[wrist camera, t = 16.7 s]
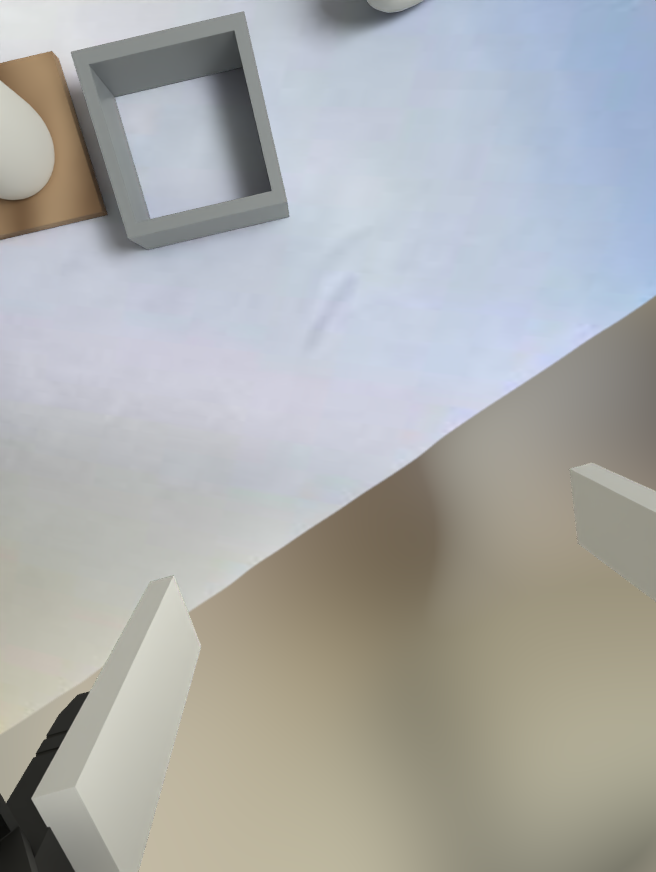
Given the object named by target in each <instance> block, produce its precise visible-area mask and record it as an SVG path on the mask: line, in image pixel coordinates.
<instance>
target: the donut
mask: <svg viewBox="0 0 656 872" xmlns="http://www.w3.org/2000/svg"><path fill="white" fill-rule="evenodd" d="M422 1H423V0H367V2H368V3H369V5H370V6H372V7H373V8H374V9H377V10H380V11H383V12H387V13H392V12H399V11H403V10H405V9H408V8H410V7H412V6H415V5H417V4H419V3H420V2H422Z"/></svg>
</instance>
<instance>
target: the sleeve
mask: <svg viewBox="0 0 656 872" xmlns="http://www.w3.org/2000/svg"><path fill="white" fill-rule="evenodd" d="M71 55H72V58H73V61H74V65H75V68H76V71H77V74H78V78H79V81H80V84H81V87H82V91H83V94H84V97H85V100H86V104H87V107H88V110H89V113H90V117H91V120H92V123H93V126H94V130H95V133H96V136H97V139H98V143H99V146H100V149H101V152H102V156H103V159H104V162H105V165H106V169H107V172H108V175H109V178H110V182H111V185H112V188H113V191H114V195H115V198H116V201H117V204H118V208H119V211H120V214H121V218H122V221H123V224H124V227H125V231H126V234H127V237H128V239H129V240H131V241H133V242H135V243H136V244H138V245H140V246H142V247H144V248H145V249H147V250H149V249H154V248H158V247H162V246H166V245H171V244H175V243H179V242H184V241H188V240H192V239H196V238H201V237H205V236H209V235H213V234H218V233H222V232H226V231H231V230H235V229H239V228H243V227H248V226H252V225H256V224H260V223H265V222H269V221H273V220H278V219H282V218H286V217H289V211H288V203H287V198H286V194H285V189H284V185H283V181H282V176H281V172H280V167H279V163H278V159H277V154H276V150H275V145H274V141H273V137H272V132H271V128H270V123H269V119H268V115H267V110H266V106H265V101H264V97H263V93H262V88H261V84H260V79H259V75H258V71H257V66H256V62H255V57H254V53H253V49H252V44H251V40H250V35H249V31H248V27H247V22H246V18H245V13H244V11H243V12H239V13H235V14H230V15H226V16H222V17H218V18H213V19H209V20H205V21H201V22H196V23H192V24H188V25H183V26H179V27H175V28H171V29H166V30H162V31H158V32H154V33H149V34H145V35H141V36H136V37H132V38H128V39H124V40H119V41H115V42H111V43H107V44H102V45H98V46H94V47H90V48H85V49H81V50H77V51H72V52H71ZM241 67H243V70H244V74H245V78H246V83H247V87H248V91H249V95H250V100H251V104H252V108H253V113H254V117H255V121H256V125H257V130H258V134H259V138H260V143H261V147H262V151H263V155H264V160H265V164H266V168H267V173H268V177H269V181H270V185H271V190H272V191H269V192H265V193H261V194H256V195H252V196H248V197H244V198H239V199H235V200H231V201H226V202H222V203H218V204H214V205H209V206H205V207H201V208H196V209H192V210H188V211H184V212H179V213H175V214H171V215H167V216H162V217H158V218H154V219H150V216H149V213H148V209H147V206H146V202H145V199H144V196H143V192H142V189H141V185H140V182H139V179H138V175H137V172H136V168H135V165H134V162H133V158H132V155H131V151H130V148H129V145H128V141H127V138H126V134H125V131H124V128H123V124H122V121H121V117H120V114H119V111H118V107H117V104H116V100H115V97H117V96H121V95H126V94H130V93H134V92H138V91H143V90H147V89H151V88H156V87H160V86H164V85H168V84H173V83H177V82H181V81H185V80H190V79H194V78H198V77H203V76H207V75H211V74H215V73H220V72H224V71H228V70H232V69H237V68H241Z"/></svg>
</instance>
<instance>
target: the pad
mask: <svg viewBox="0 0 656 872" xmlns="http://www.w3.org/2000/svg"><path fill="white" fill-rule="evenodd" d="M0 81H2V82H3V83H4V84H5V85H6V86H8V87H9V88H10V89H11V90H13V91H14V92H15V93H16V94H17V95H19V96H20V97H21V98H22V99H23V100H25V101H26V102H27V103H28V104H29V105H30V106H31V107H32V108H33V109H34V110H35V111H36V112H37V113H38V115H39V116H40V117H41V118H42V120H43V121H44V123H45V125H46V126H47V128H48V130H49V133H50V135H51V138H52V141H53V145H54V153H55V160H54V168H53V171H52V174H51V177H50V179H49V181H48V182H47V184H46V185H45V186H44V187H43V188H42V189H41V190H40V191H39V192H38V193H36V194H35V195H33V196H31V197H28V198H25V199H20V200H7V199H1V198H0V240H2V239H6V238H10V237H14V236H19V235H23V234H27V233H32V232H36V231H40V230H44V229H49V228H53V227H57V226H62V225H66V224H70V223H74V222H79V221H83V220H87V219H91V218H96V217H100V216H104V215H108V214H107V211H106V208H105V205H104V202H103V199H102V195H101V192H100V189H99V186H98V183H97V179H96V176H95V173H94V170H93V167H92V163H91V160H90V157H89V154H88V151H87V147H86V144H85V141H84V138H83V135H82V132H81V128H80V125H79V122H78V119H77V116H76V112H75V109H74V106H73V103H72V100H71V96H70V93H69V90H68V87H67V84H66V81H65V77H64V74H63V71H62V68H61V65H60V61H59V59H58V58H57V56H56V55H55V54H54V53H53V52H52V51H50V52H46V53H42V54H37V55H33V56H29V57H25V58H20V59H16V60H12V61H7V62H3V63H0Z"/></svg>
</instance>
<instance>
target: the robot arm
mask: <svg viewBox="0 0 656 872" xmlns="http://www.w3.org/2000/svg"><path fill="white" fill-rule="evenodd" d="M570 478H571V486H572V496H573V504H574V513H575V521H576V531H577V540H578V544H579V545H581V546H582V547H583V548H585V549H586V550H587V551H589V552H590V553H592V554H593V555H594V556H595V557H597V558H598V559H599V560H601V561H602V562H603V563H605V564H606V565H607V566H609V567H610V568H612V569H613V570H614V571H615V572H617V573H618V574H619V575H621V576H622V577H624V578H625V579H626V580H627V581H629V582H630V583H631V584H633V585H634V586H635V587H637V588H638V589H639V590H641V591H642V592H643V593H645V594H646V595H647V596H649V597H650V598H651V599H653V600H654V601H655V602H656V491H654V490H652V489H650V488H647V487H645V486H643V485H641V484H639V483H636V482H634V481H632V480H630V479H627V478H625V477H623V476H621V475H618V474H616V473H614V472H612V471H609V470H607V469H605V468H603V467H601V466H598V465H596V464H594V463H589V464H585V465H582V466H578V467H574V468H571V469H570ZM200 649H201V645H200V642H199V640H198V637H197V634H196V632H195V629H194V627H193V624H192V621H191V619H190V616H189V613H188V611H187V608H186V606H185V603H184V600H183V598H182V595H181V593H180V590H179V587H178V585H177V582H176V580H175V577H174V575H173V576H169V577H165V578H162V579H158V580H154V581H151V582H150V583H149V585H148V587H147V588H146V590H145V592H144V594H143V596H142V597H141V599H140V601H139V603H138V605H137V607H136V608H135V610H134V612H133V614H132V616H131V618H130V619H129V621H128V623H127V625H126V627H125V628H124V630H123V632H122V634H121V636H120V638H119V639H118V641H117V643H116V645H115V647H114V649H113V650H112V652H111V654H110V656H109V658H108V659H107V661H106V663H105V665H104V667H103V669H102V670H101V672H100V674H99V676H98V678H97V680H96V681H95V683H94V685H93V687H92V689H91V690H90V691H89V692H86V693H82V694H79V695H77V696H76V697H75V698H74V699H73V700H72V701H71V702H70V703H69V705H68V706H67V707H66V708H65V709H64V710H63V711H62V712H61V713H60V714H59V715H58V717H57V719H56V720H55V722H54V724H53V725H52V727H51V729H50V731H49V732H48V734H47V739H45V740H44V741H43V742H42V744H41V746H40V748H39V749H38V751H37V753H36V757H34V758H33V759H32V761H31V763H30V764H29V766H28V767H27V769H26V771H25V772H24V774H23V776H22V778H21V780H20V781H19V783H18V784H17V786H16V788H15V789H14V791H13V793H12V794H11V796H10V798H9V799H8V801H7V803H5V801H4V799H3V797H2V796H1V794H0V872H139V868H140V865H141V861H142V858H143V854H144V850H145V847H146V843H147V840H148V836H149V832H150V829H151V825H152V821H153V818H154V814H155V810H156V807H157V803H158V800H159V796H160V793H161V789H162V786H163V782H164V778H165V774H166V771H167V768H168V764H169V760H170V757H171V753H172V750H173V746H174V742H175V739H176V735H177V732H178V728H179V724H180V720H181V717H182V714H183V710H184V706H185V703H186V699H187V696H188V692H189V688H190V685H191V681H192V678H193V673H194V670H195V667H196V663H197V659H198V656H199V652H200Z"/></svg>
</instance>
